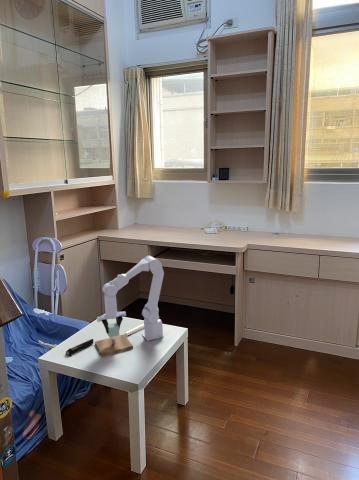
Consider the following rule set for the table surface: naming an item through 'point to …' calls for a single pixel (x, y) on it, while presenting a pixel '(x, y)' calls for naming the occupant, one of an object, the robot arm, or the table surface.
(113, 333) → the mint green cube
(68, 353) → the electric trimmer
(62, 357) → the table surface
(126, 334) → the marker
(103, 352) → the stub board
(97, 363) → the table surface
